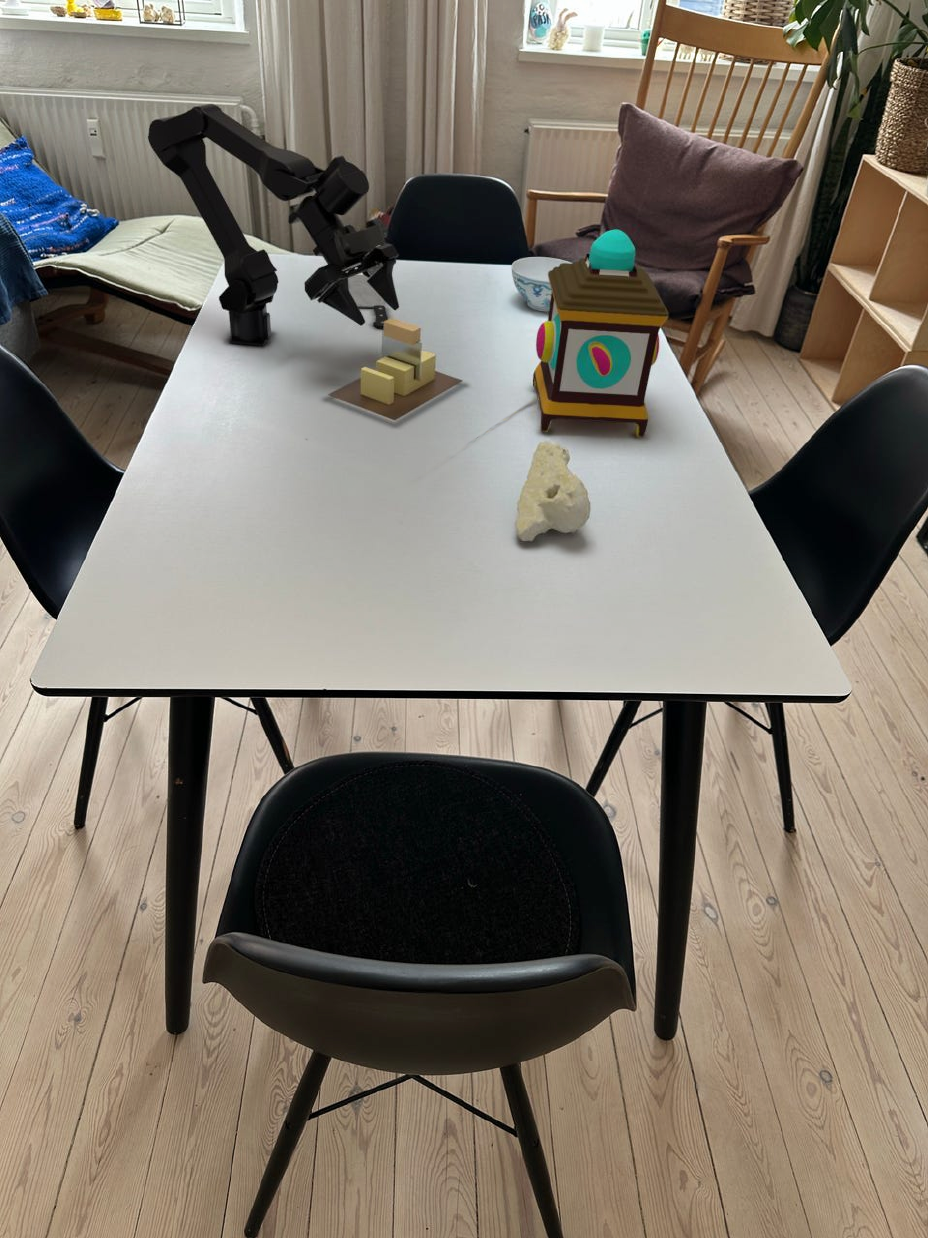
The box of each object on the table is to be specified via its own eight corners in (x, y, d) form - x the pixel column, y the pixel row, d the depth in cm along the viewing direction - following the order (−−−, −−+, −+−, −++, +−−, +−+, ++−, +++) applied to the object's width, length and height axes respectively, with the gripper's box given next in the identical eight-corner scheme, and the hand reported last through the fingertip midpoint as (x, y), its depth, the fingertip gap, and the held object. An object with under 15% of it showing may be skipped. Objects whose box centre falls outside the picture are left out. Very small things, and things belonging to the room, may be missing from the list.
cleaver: (340, 327, 178) (392, 328, 179) (340, 324, 178) (392, 325, 179) (340, 275, 201) (386, 277, 202) (340, 273, 200) (386, 274, 202)
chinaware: (581, 321, 190) (587, 284, 185) (508, 316, 189) (512, 278, 185) (575, 295, 202) (580, 259, 197) (507, 290, 201) (510, 254, 196)
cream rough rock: (568, 574, 124) (634, 485, 124) (536, 543, 119) (604, 451, 120) (508, 546, 136) (568, 465, 137) (477, 517, 132) (539, 434, 133)
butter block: (375, 385, 157) (376, 360, 155) (407, 369, 163) (407, 344, 161) (404, 396, 155) (405, 371, 152) (434, 379, 161) (436, 354, 158)
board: (327, 399, 154) (327, 394, 154) (398, 363, 168) (399, 357, 167) (394, 425, 149) (394, 420, 148) (462, 385, 162) (463, 380, 162)
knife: (378, 369, 158) (378, 319, 152) (385, 365, 159) (386, 316, 154) (415, 383, 155) (418, 332, 149) (423, 378, 156) (425, 328, 151)
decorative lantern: (634, 390, 166) (669, 214, 147) (654, 443, 150) (696, 255, 131) (523, 384, 164) (544, 206, 146) (532, 437, 149) (557, 246, 130)
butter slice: (360, 394, 154) (360, 368, 152) (365, 391, 155) (365, 366, 152) (389, 404, 152) (389, 379, 149) (393, 402, 153) (394, 377, 150)
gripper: (316, 214, 138) (373, 306, 141) (391, 191, 151) (442, 276, 154) (279, 255, 146) (334, 341, 149) (353, 230, 159) (402, 310, 162)
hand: (380, 316), depth 153 cm, fingers open, 9 cm apart
